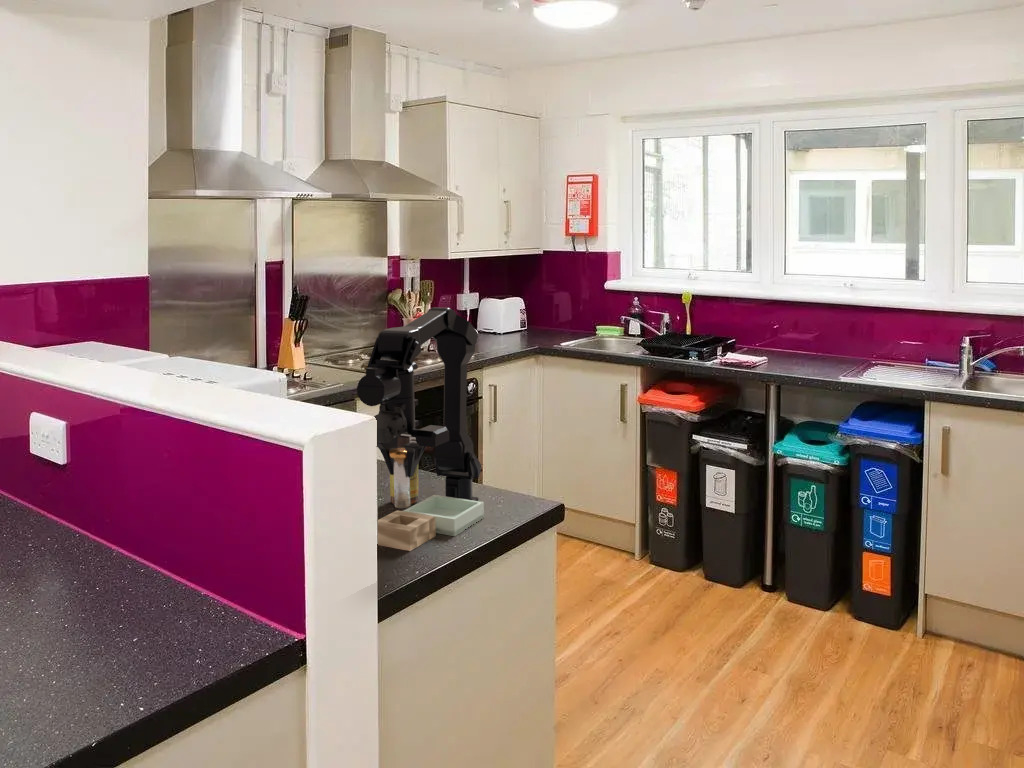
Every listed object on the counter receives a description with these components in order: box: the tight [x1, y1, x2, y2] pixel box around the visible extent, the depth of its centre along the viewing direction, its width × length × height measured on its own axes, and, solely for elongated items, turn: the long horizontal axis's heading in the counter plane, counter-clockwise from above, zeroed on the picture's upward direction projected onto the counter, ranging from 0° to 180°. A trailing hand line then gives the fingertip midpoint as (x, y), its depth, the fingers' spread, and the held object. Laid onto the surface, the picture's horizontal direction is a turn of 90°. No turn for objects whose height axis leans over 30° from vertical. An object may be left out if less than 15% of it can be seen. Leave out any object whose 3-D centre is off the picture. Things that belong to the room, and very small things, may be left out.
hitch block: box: [377, 510, 437, 552], centre depth 173 cm, size 9×9×4 cm
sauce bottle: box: [389, 432, 419, 506], centre depth 195 cm, size 7×6×20 cm
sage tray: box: [403, 494, 485, 537], centre depth 182 cm, size 12×12×4 cm
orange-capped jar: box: [389, 448, 411, 509], centre depth 171 cm, size 4×4×11 cm
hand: (401, 475), depth 171 cm, fingers closed on orange-capped jar, 4 cm apart
